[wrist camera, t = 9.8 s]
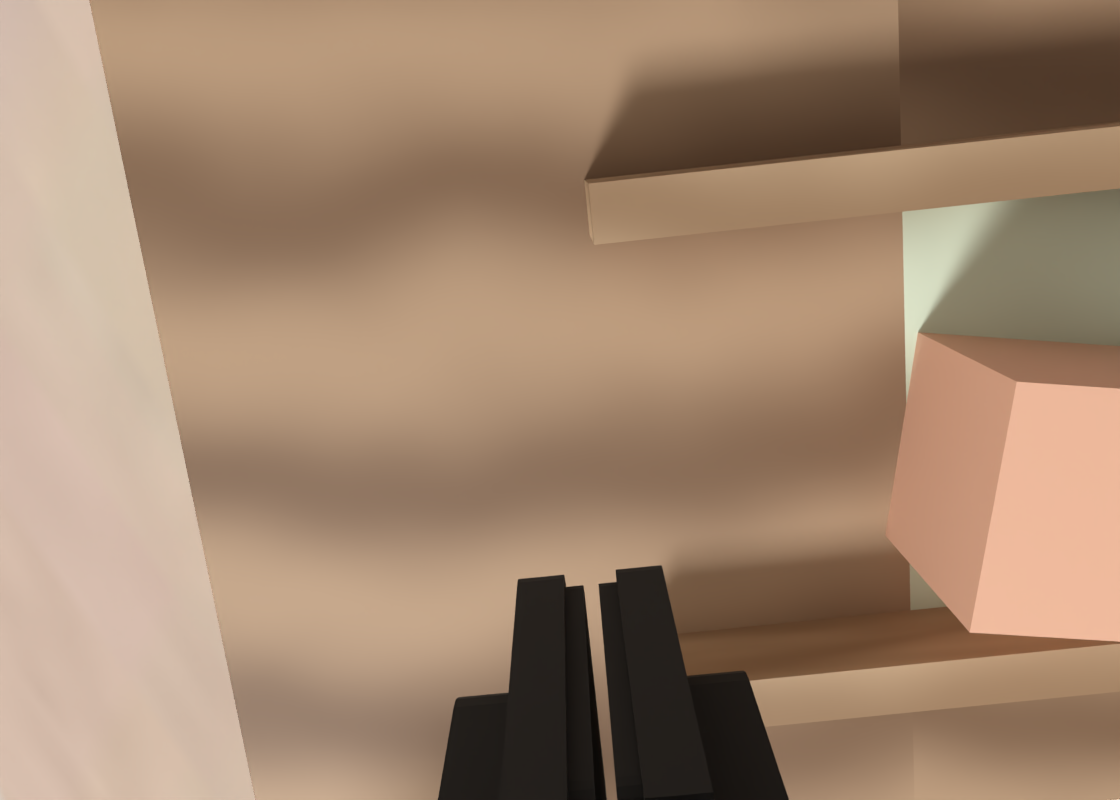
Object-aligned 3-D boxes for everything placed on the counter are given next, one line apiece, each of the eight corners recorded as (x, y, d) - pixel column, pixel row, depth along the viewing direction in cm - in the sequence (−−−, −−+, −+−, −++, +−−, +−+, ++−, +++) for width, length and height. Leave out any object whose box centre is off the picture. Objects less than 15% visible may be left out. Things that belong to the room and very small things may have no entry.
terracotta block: (918, 332, 23) (1016, 381, 18) (1131, 346, 23) (1286, 400, 18) (885, 535, 24) (969, 632, 19) (1087, 548, 24) (1222, 647, 19)
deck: (136, 14, 23) (29, -21, 19) (1511, -140, 23) (1769, -217, 18) (295, 820, 29) (244, 956, 24) (1411, 709, 28) (1589, 826, 23)
